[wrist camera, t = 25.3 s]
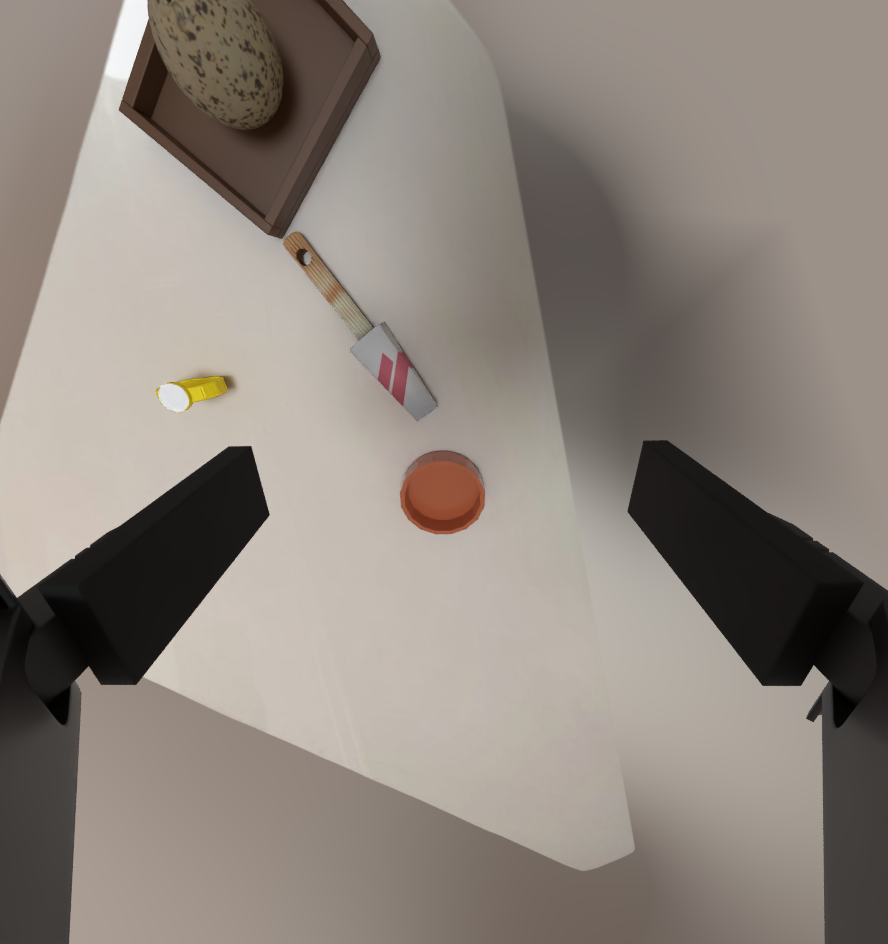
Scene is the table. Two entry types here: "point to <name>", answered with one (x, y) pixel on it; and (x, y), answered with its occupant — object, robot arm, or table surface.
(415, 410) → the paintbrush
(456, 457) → the shallow dish
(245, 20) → the decorative egg
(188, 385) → the watch
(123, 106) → the tray
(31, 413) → the table surface
